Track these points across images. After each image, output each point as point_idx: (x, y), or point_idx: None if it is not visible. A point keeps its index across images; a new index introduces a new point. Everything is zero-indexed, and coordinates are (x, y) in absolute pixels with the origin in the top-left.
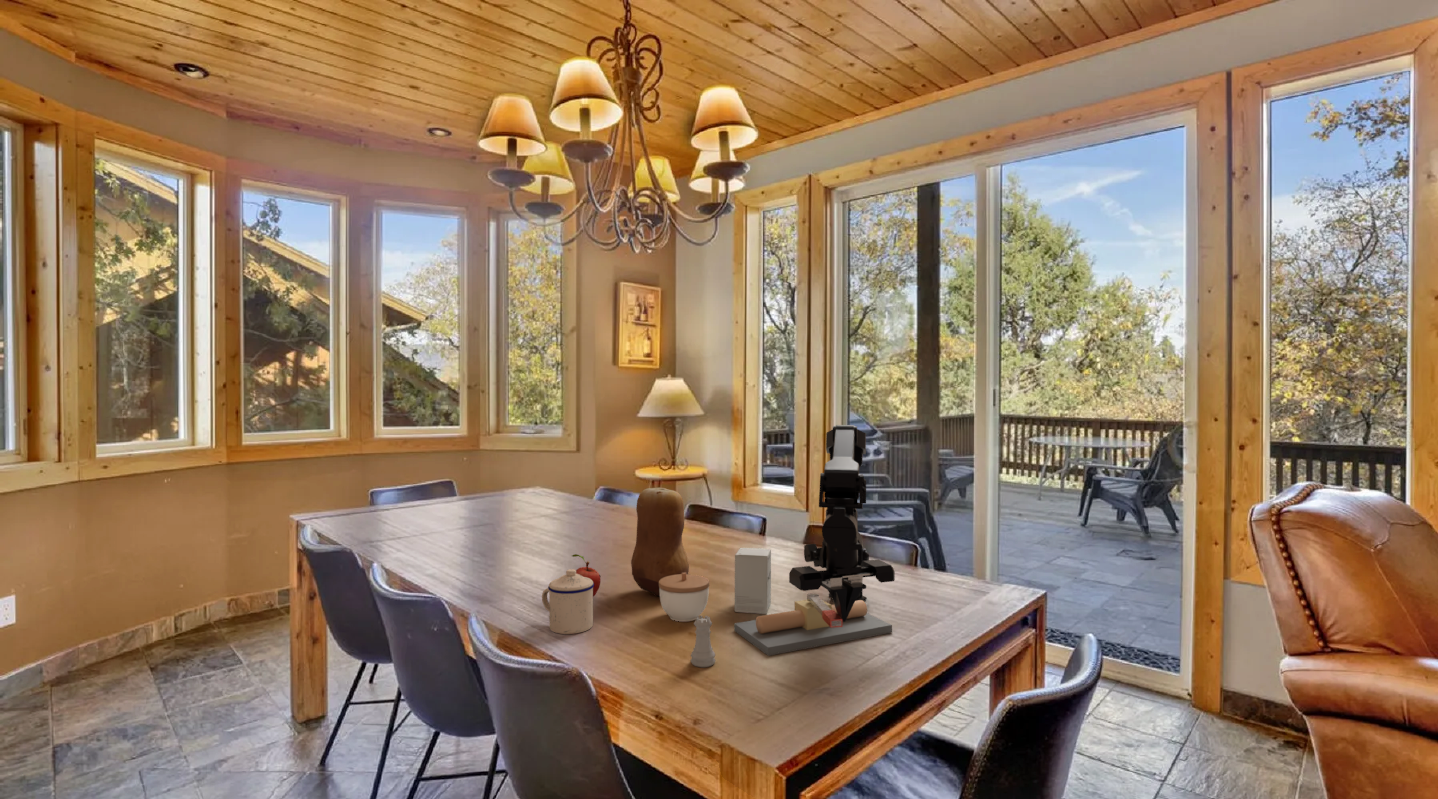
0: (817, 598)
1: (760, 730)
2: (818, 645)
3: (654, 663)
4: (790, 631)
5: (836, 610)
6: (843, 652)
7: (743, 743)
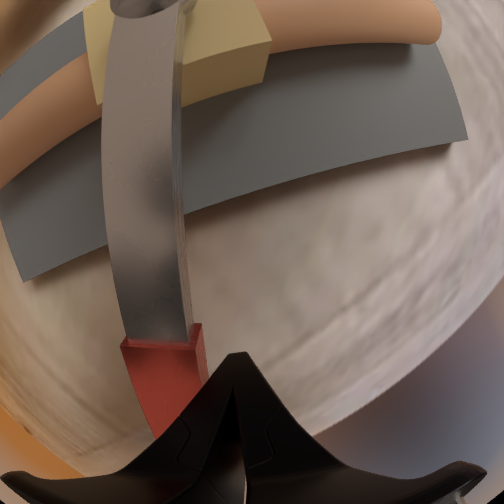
0: (151, 43)
1: (87, 465)
2: None
3: None
4: (79, 141)
5: (205, 386)
6: (247, 280)
7: (79, 470)
